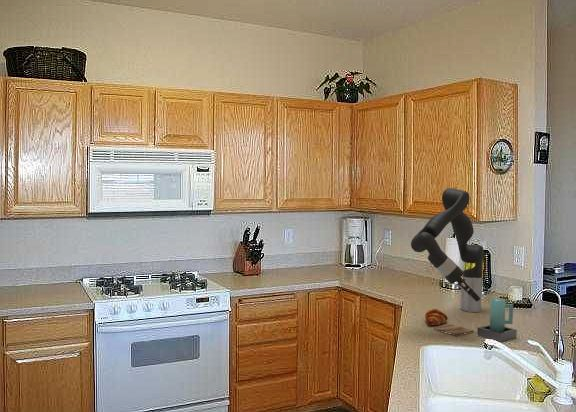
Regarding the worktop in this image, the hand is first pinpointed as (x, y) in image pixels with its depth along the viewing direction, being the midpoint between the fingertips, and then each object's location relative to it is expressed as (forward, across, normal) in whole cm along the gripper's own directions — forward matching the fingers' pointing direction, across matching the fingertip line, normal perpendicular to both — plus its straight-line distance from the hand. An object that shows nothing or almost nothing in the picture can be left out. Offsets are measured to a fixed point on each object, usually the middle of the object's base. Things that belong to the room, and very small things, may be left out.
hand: (476, 298), depth 238 cm
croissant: (+2, +20, +22) cm, 30 cm away
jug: (+19, 0, +4) cm, 19 cm away
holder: (+18, 0, +5) cm, 18 cm away
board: (+6, +6, +17) cm, 19 cm away
